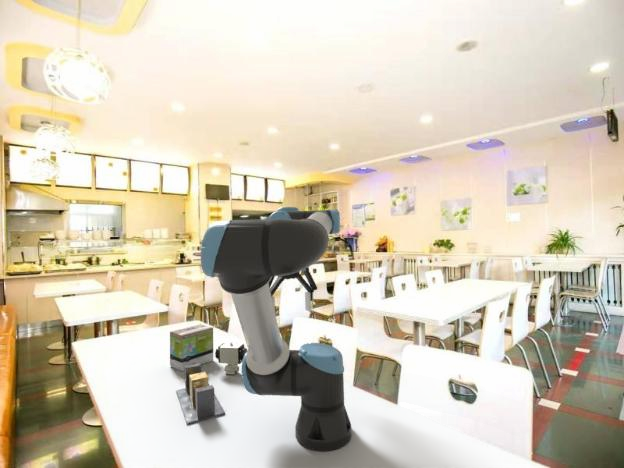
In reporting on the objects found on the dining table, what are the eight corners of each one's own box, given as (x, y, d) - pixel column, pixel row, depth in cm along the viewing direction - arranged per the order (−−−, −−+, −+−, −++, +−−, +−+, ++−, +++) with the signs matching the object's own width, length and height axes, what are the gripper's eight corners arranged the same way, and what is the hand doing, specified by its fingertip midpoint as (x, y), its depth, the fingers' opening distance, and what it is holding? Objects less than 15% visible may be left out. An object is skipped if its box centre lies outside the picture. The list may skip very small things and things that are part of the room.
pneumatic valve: (243, 376, 132) (242, 345, 132) (215, 374, 134) (214, 344, 134) (249, 370, 137) (248, 340, 137) (221, 369, 140) (221, 339, 140)
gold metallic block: (209, 403, 110) (209, 378, 110) (193, 407, 108) (192, 382, 108) (204, 393, 117) (204, 370, 117) (189, 397, 115) (188, 373, 115)
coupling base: (225, 414, 104) (224, 386, 104) (187, 424, 99) (186, 395, 99) (208, 384, 125) (207, 361, 125) (176, 391, 120) (175, 367, 120)
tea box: (183, 372, 138) (182, 335, 138) (169, 366, 144) (168, 331, 144) (214, 360, 150) (213, 326, 150) (200, 355, 156) (199, 323, 156)
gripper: (315, 249, 129) (316, 306, 129) (251, 253, 117) (252, 315, 117) (325, 250, 122) (327, 310, 122) (258, 254, 110) (260, 320, 110)
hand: (290, 313), depth 119 cm, fingers open, 13 cm apart
